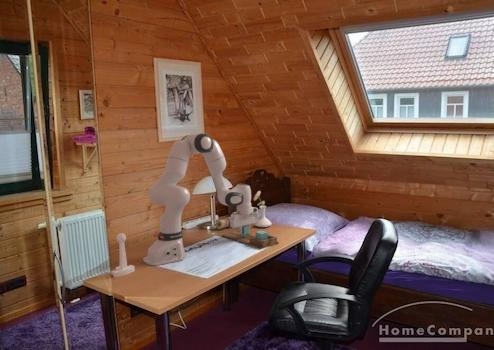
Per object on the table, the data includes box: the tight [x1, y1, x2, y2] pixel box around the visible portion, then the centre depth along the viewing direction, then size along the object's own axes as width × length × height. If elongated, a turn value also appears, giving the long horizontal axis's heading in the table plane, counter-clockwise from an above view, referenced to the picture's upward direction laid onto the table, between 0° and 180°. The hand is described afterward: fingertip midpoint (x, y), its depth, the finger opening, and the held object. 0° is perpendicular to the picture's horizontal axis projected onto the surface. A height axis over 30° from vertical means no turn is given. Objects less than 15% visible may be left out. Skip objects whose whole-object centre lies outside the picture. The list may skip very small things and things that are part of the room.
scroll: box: [215, 216, 231, 230], centre depth 282 cm, size 8×8×20 cm
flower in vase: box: [253, 190, 273, 228], centre depth 280 cm, size 13×11×25 cm
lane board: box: [221, 230, 279, 250], centre depth 251 cm, size 14×36×4 cm, turn 41°
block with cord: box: [241, 225, 269, 241], centre depth 247 cm, size 5×19×6 cm, turn 41°
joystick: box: [110, 232, 136, 278], centre depth 202 cm, size 11×8×20 cm
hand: (244, 232), depth 253 cm, fingers closed on block with cord, 3 cm apart
